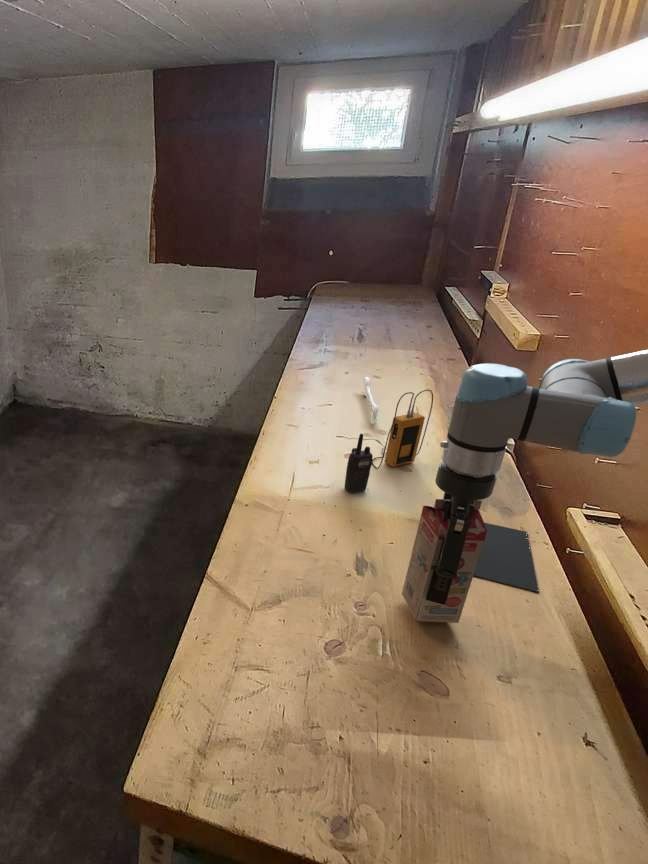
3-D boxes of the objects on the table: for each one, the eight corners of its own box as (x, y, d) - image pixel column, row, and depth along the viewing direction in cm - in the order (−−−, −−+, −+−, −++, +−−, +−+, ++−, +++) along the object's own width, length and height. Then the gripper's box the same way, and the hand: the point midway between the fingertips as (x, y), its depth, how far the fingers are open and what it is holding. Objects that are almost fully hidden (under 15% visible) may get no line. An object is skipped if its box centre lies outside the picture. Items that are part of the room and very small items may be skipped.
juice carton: (401, 593, 100) (427, 488, 90) (441, 595, 99) (471, 488, 89) (416, 621, 94) (445, 511, 84) (458, 622, 93) (493, 512, 83)
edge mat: (527, 532, 116) (527, 531, 116) (538, 592, 100) (539, 592, 100) (449, 515, 122) (449, 514, 122) (449, 570, 107) (449, 569, 107)
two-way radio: (348, 494, 131) (358, 437, 124) (337, 485, 135) (347, 429, 128) (369, 491, 132) (380, 434, 125) (358, 481, 136) (368, 426, 129)
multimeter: (396, 443, 153) (411, 374, 144) (425, 460, 144) (443, 388, 135) (351, 453, 149) (364, 383, 140) (379, 471, 140) (394, 397, 131)
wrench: (359, 391, 186) (362, 374, 183) (366, 391, 185) (369, 374, 183) (370, 427, 162) (374, 408, 159) (378, 427, 161) (382, 409, 159)
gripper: (440, 433, 94) (413, 542, 104) (439, 495, 77) (407, 618, 87) (493, 441, 91) (460, 553, 101) (504, 508, 74) (463, 634, 84)
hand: (435, 583), depth 94 cm, fingers closed on juice carton, 8 cm apart
